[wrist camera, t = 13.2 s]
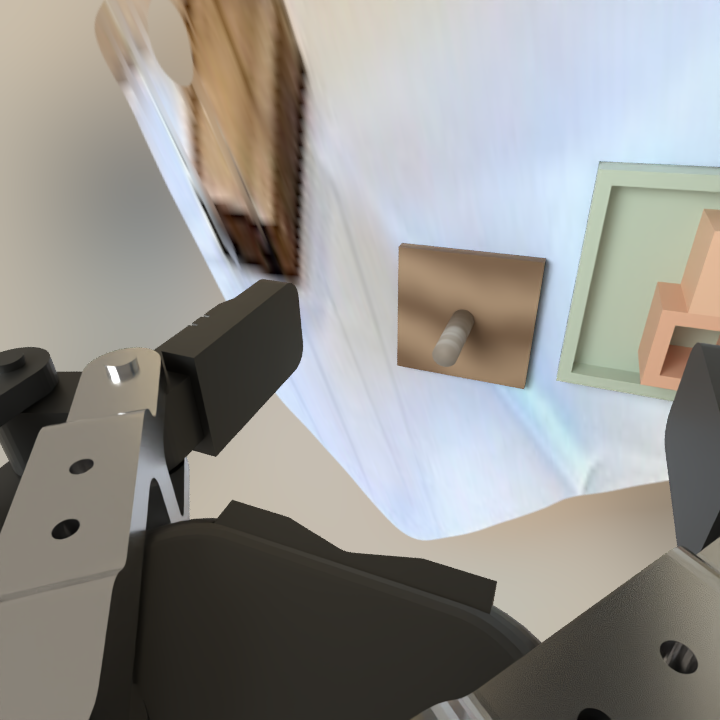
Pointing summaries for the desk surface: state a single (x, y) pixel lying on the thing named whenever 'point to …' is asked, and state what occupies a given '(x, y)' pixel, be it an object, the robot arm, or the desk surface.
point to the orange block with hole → (683, 308)
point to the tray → (632, 269)
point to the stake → (467, 312)
